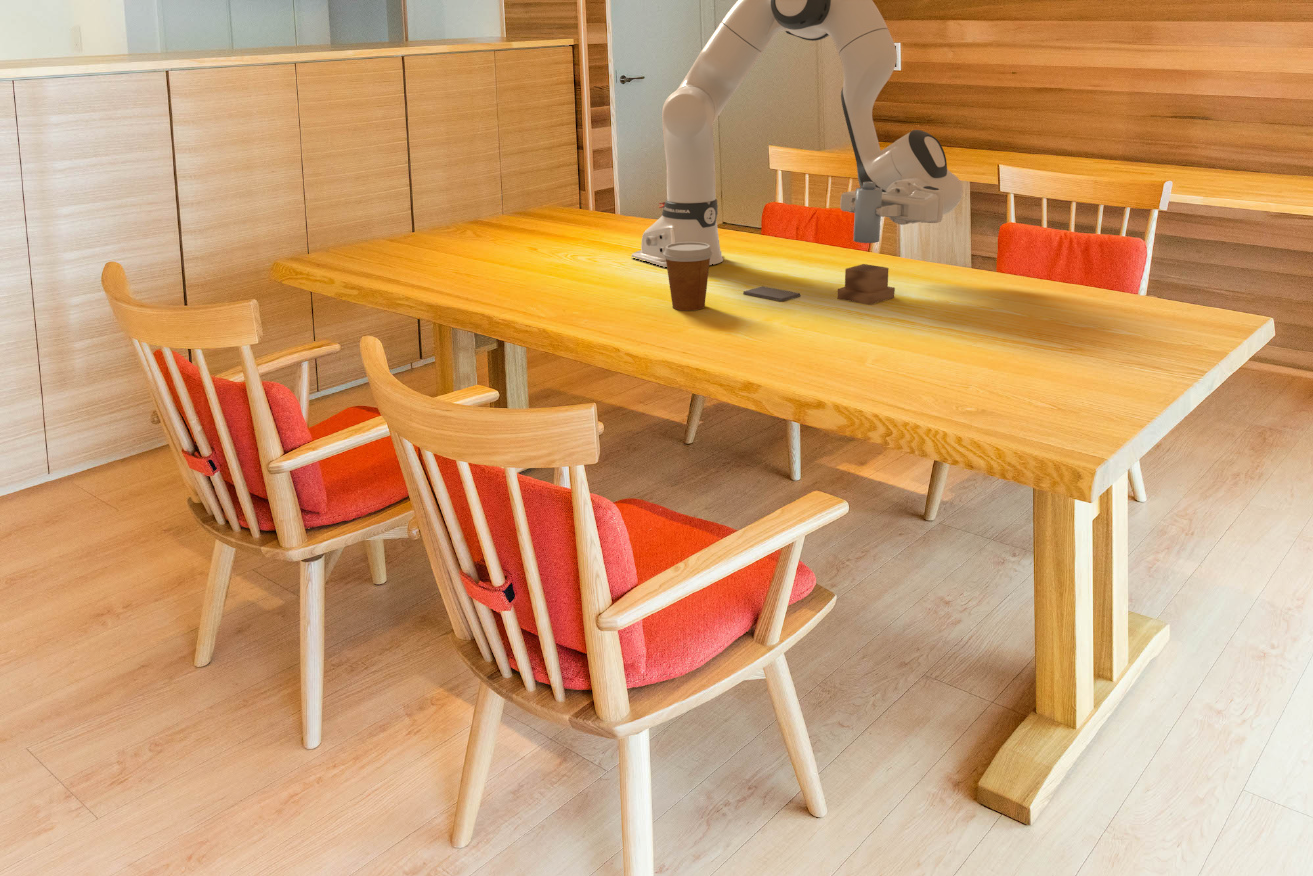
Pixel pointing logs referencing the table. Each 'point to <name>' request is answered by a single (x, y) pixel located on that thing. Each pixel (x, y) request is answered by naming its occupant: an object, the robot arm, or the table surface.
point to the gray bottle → (867, 213)
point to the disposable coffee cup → (688, 274)
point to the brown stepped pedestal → (866, 285)
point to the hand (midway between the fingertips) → (865, 210)
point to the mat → (771, 293)
